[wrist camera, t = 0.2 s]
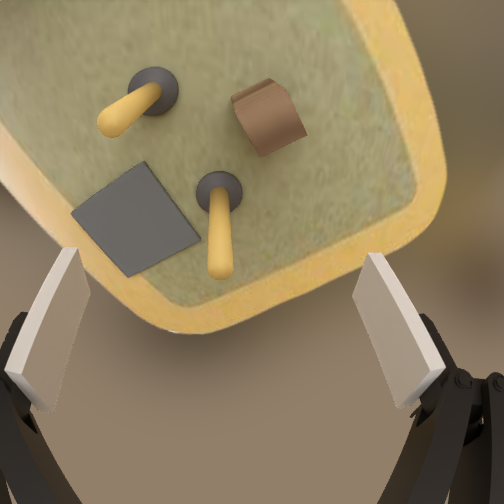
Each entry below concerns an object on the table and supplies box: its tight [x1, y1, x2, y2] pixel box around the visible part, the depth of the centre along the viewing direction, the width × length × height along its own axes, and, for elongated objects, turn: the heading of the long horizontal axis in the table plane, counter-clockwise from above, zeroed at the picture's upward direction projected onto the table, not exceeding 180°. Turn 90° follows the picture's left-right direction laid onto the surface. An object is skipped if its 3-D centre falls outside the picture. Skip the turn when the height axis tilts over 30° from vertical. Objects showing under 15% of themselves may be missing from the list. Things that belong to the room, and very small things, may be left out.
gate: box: [97, 67, 242, 280], centre depth 31 cm, size 22×6×16 cm, turn 27°
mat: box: [71, 161, 201, 278], centre depth 43 cm, size 14×14×1 cm
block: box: [231, 78, 307, 158], centre depth 31 cm, size 5×5×10 cm
